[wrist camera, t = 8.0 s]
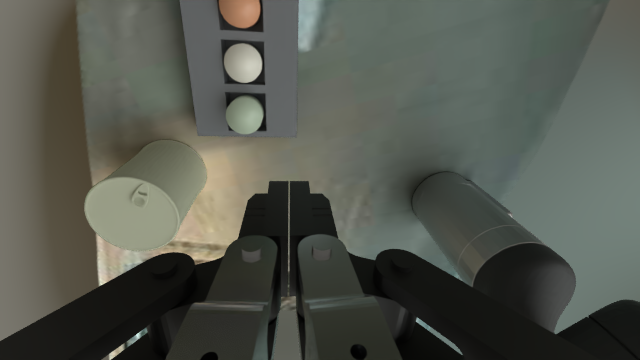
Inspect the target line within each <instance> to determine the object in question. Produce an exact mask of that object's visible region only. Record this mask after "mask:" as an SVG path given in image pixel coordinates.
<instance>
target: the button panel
mask: <svg viewBox="0 0 640 360" xmlns="http://www.w3.org/2000/svg"><path fill="white" fill-rule="evenodd" d="M260 3H261V7H262V13H261V17H260V20H259V21H258V23H257V24H256V25H255V26H253V27H251V28H246V29H244V28H238V27H235V26H233V25H231V24H229V23H228V22H227V21H226V20H225V19H224V17H223V16H222V14H221V11H220V8H219V0H180V8H181V15H182V22H183V30H184V37H185V44H186V52H187V59H188V67H189V74H190V81H191V89H192V96H193V103H194V111H195V118H196V126H197V133H198V136H244V137H296V136H297V70H298V4H299V0H260ZM240 43H248V44H251V45H253V46H255V47H256V48H257V49H258V50H259V51H260V53H261V55H262V57H263V69H262V71H261V73H260V74H259V75H258V77H257V78H256V79H255V80H253V81H251V82H248V83H241V82H238V81H236V80H234V79H232V78H231V77H230V76H229V74H228V73H227V71H226V69H225V66H224V56H225V53H226V52H227V50H228V49H229V48H230V47H231V46H233V45H235V44H240ZM243 94H249V95H252V96H254V97H256V98H257V99H258V100H259V101H260V102H261V103H262V105H263V108H264V116H263V119H262V122H261V125H260V127H259V128H258V129H257V130H256V131H255V132H253V133H251V134H240V133H237V132H235V131H234V130H233V129H232V128H231V127H230V126H229V125H228V123H227V120H226V110H227V108H228V106H229V105H230V104H231V102H232V101H233V100H234V99H235V98H236V97H238V96H240V95H243Z"/></svg>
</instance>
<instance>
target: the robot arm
mask: <svg viewBox="0 0 640 360" xmlns="http://www.w3.org/2000/svg"><path fill="white" fill-rule="evenodd" d="M412 207H413V211H414V213H415V214H416V216H417V217H418V219H419V220H420V221H421V223H422V224H423V226H424V227H425V229H426V230H427V231H428V233H429V234H430V236H431V237H432V238H433V240H434V241H435V243H436V244H437V245H438V247H439V248H440V250H441V251H442V252H443V254H444V255H445V257H446V258H447V259H448V261H449V262H450V264H451V265H452V266H453V268H454V269H455V271H456V272H457V273H458V275H459V276H460V278H461V279H462V280H463V281H461V280H459V279H457V278H455V277H454V276H452V275H450V274H448V273H447V272H445V271H443V270H441V269H440V268H438V267H436V266H434V265H433V264H431V263H429V262H427V261H426V260H424V259H422V258H420V257H418V256H417V255H415V254H413V253H411V252H408V251H405V250H401V249H388V250H384V251H382V252H380V253H379V254H378V255H377V257H376V260H371V259H366V258H362V257H358V256H355V255H353V254H351V253H349V252H348V251H347V249H346V247H345V245H344V244H343V242H341V241H340V240H339V239H338V236H337V231H336V227H335V223H334V219H333V216H332V211H331V206H330V202H329V200H328V199H327V198H326V197H325V196H324V195H323V194H310V188H309V181H290V296H296V323H297V333H298V342H299V351H300V360H640V302H638V301H634V300H620V301H617V302H614V303H612V304H609V305H607V306H605V307H603V308H601V309H600V310H598V311H596V312H594V313H592V314H591V315H589V318H588V317H585V318H584V319H582V320H580V321H579V322H577V323H575V324H573V325H572V326H570V327H568V328H566V329H565V330H563V331H561V332H559V333H558V334H554V330H555V327H556V324H557V321H558V319H559V317H560V315H561V314H562V312H563V311H564V309H565V308H566V306H567V305H568V303H569V302H570V300H571V298H572V296H573V294H574V290H575V286H576V278H575V274H574V272H573V269H572V268H571V267H570V265H569V264H568V263H567V262H566V261H565V260H564V259H563V258H562V257H561V256H559V255H558V254H557V253H556V252H554V251H553V250H552V249H551V248H549V247H548V246H547V245H545V244H544V243H543V242H542V241H541V240H539V239H538V238H537V237H536V236H534V235H533V234H532V233H531V232H529V231H528V230H527V229H526V228H524V227H523V226H522V225H521V224H519V223H518V222H517V221H516V220H514V219H513V218H512V213H511V212H510V211H509V210H508V209H507V208H505V207H504V206H503V205H502V204H500V203H499V202H498V201H496V200H495V199H494V198H493V197H491V196H490V195H489V194H488V193H486V192H485V191H484V190H483V189H481V188H480V187H479V186H477V185H476V184H475V183H474V182H472V181H466V180H465V179H464V178H463V177H461V176H460V175H458V174H456V173H452V172H442V173H437V174H435V175H432V176H430V177H429V178H427V179H426V180H424V181H423V182H422V183H421V184H420V185H419V186H418V188H417V189H416V191H415V193H414V195H413V198H412ZM287 291H288V181H270V182H269V188H268V194H254V195H253V196H252V197H251V198H250V199H249V200H248V202H247V206H246V210H245V214H244V218H243V221H242V225H241V229H240V233H239V237H238V239H237V240H235V241H234V242H232V243H231V244H230V245H229V246H228V248H227V250H226V252H225V255H224V256H223V257H221V258H219V259H216V260H213V261H210V262H206V263H201V264H197V265H195V263H194V260H193V259H192V258H191V257H190V256H189V255H187V254H184V253H178V252H173V253H165V254H161V255H158V256H155V257H153V258H151V259H149V260H147V261H145V262H143V263H141V264H140V265H138V266H136V267H134V268H132V269H131V270H129V271H127V272H125V273H123V274H121V275H120V276H118V277H116V278H114V279H112V280H111V281H109V282H107V283H105V284H103V285H101V286H100V287H98V288H96V289H94V290H92V291H91V292H89V293H87V294H85V295H83V296H81V297H80V298H78V299H76V300H74V301H72V302H71V303H69V304H67V305H65V306H63V307H61V308H60V309H58V310H56V311H54V312H52V313H51V314H49V315H47V316H45V317H43V318H41V319H40V320H38V321H36V322H35V323H32V324H31V325H29V326H27V327H25V328H23V329H21V330H20V331H18V332H16V333H14V334H12V335H11V336H9V337H7V338H5V339H3V340H2V341H0V360H101V359H103V358H104V357H106V356H107V355H108V354H110V353H111V352H112V351H114V350H115V349H117V348H118V347H119V346H121V345H122V344H123V343H125V342H126V341H128V340H129V339H130V338H132V337H133V336H135V335H136V334H137V333H139V332H140V331H141V330H143V329H144V328H147V331H148V333H146V334H145V335H144V336H142V337H141V338H140V339H138V340H137V341H136V342H134V343H133V344H132V345H130V346H129V347H128V348H126V349H125V350H123V351H122V352H121V353H119V354H118V355H117V356H115V357H114V358H113V359H111V360H273V358H274V350H275V343H276V335H277V326H278V313H279V311H280V306H281V297H286V296H287ZM417 317H418V318H419V319H421V320H422V321H423V322H425V323H426V324H427V325H429V326H430V327H432V328H433V329H434V330H436V331H437V332H439V333H440V334H441V335H443V336H444V337H446V338H447V339H449V340H450V341H451V342H453V343H454V344H455V345H456V346H457V347H458V348H459V349H460V351H461V352H462V354H463V355H461V354H459V353H458V352H457V351H455V350H454V349H453V348H451V347H450V346H449V345H447V344H446V343H444V342H443V341H442V340H440V339H439V338H437V337H436V336H435V335H433V334H432V333H431V332H429V331H428V330H427V329H425V328H424V327H423V326H421V325H420V324H418V323H417V322H416V318H417Z"/></svg>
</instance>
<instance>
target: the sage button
mask: <svg viewBox="0 0 640 360" xmlns="http://www.w3.org/2000/svg"><path fill="white" fill-rule="evenodd" d="M263 116H264V108H263V105H262V103H261V102H260V101H259V100H258V99H257V98H256V97H254V96H252V95H249V94H243V95H240V96H238V97H236V98H235V99H234V100H233V101H232V102H231V104H230V105H229V106H228V108H227V110H226V120H227V123H228V125H229V126H230V127H231V128H232V129H233V130H234V131H235V132H237V133H240V134H251V133H253V132H255V131H256V130H257V129H258V128H259V127H260V125H261V122H262V119H263Z"/></svg>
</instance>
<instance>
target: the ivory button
mask: <svg viewBox="0 0 640 360" xmlns="http://www.w3.org/2000/svg"><path fill="white" fill-rule="evenodd" d="M224 66H225V69H226V71H227V73H228V74H229V76H230V77H231V78H232V79H234V80H236V81H238V82H241V83H248V82H251V81H253V80H255V79H256V78H257V77H258V75H259V74H260V73H261V71H262V69H263V57H262V55H261V53H260V51H259V50H258V49H257V48H256V47H255V46H253V45H251V44H248V43H240V44H235V45H233V46H231V47H230V48H229V49H228V50H227V52H226V53H225V56H224Z"/></svg>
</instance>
